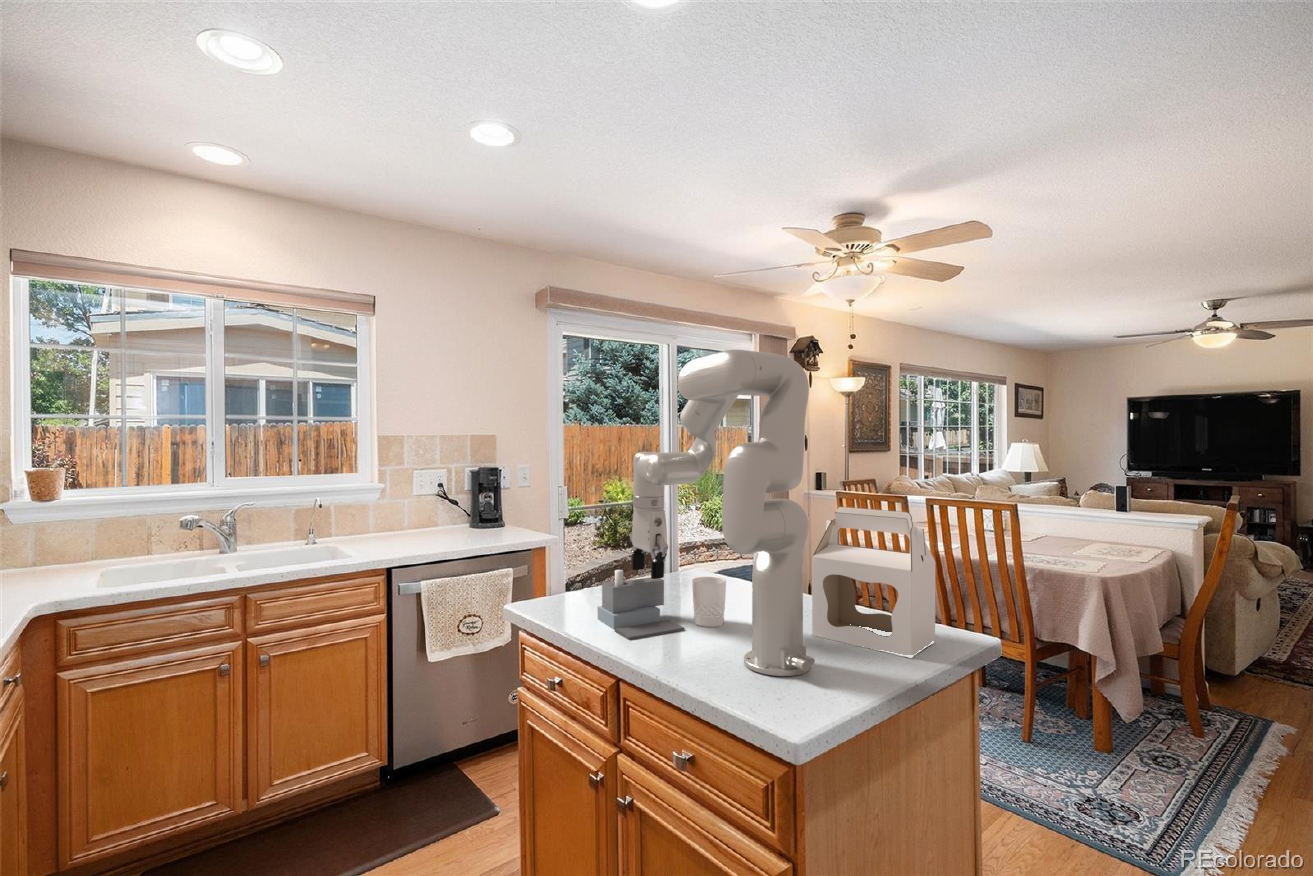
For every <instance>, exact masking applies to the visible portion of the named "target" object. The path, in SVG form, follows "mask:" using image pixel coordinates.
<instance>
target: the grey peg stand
mask: <svg viewBox="0 0 1313 876" xmlns="http://www.w3.org/2000/svg"><path fill="white" fill-rule="evenodd" d="M623 580H624V570H623V569H615V570H614V581H615V586H619V585H623ZM597 620H599V622H601V623H603V624H604V625H606V626H609V628H611V629H613V630H615V628H621V627H627V626H633V625H639V624H646V623H652V622H658V621H661V609H660V608H659V607H658V606H654V607H647V608H640V609H636V611H629V612H622V613H616V614H612V613H611V612H609V611H607V610H605V609H603V608H602V605H598V606H597Z"/></svg>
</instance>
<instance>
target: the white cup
mask: <svg viewBox="0 0 1313 876" xmlns="http://www.w3.org/2000/svg"><path fill="white" fill-rule="evenodd" d="M691 583H692V602H693V603H692V604H693V612H694V613H693V617H694V619H693V620H694V623H695V625H697V626H700V627H706V628H714V627H715V628H716V627H720V626H722V625H723V624H724V622H725V609H726V607H725V606H726V596H727V595H726V592H727V590H726V589H727V580H726V579H725V578H722V577H719V576H718V577H717V576H698V577H695V578H693V579H692V580H691Z"/></svg>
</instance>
